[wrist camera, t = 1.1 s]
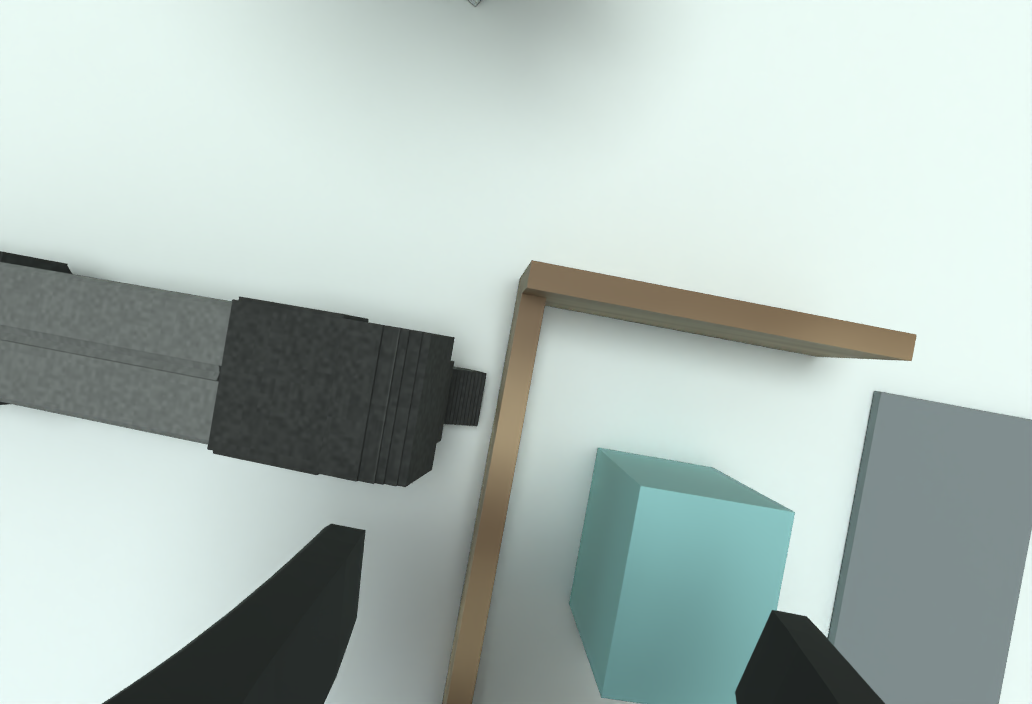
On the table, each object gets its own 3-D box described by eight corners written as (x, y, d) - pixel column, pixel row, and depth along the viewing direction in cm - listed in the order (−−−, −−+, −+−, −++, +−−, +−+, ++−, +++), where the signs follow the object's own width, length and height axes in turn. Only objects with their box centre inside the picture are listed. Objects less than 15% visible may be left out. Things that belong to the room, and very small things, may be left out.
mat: (976, 769, 24) (984, 777, 23) (808, 745, 23) (814, 752, 23) (1041, 422, 24) (1051, 423, 23) (874, 391, 23) (881, 391, 23)
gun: (488, 460, 22) (334, 525, 12) (85, 368, 27) (-239, 363, 18) (508, 340, 22) (371, 311, 12) (101, 272, 27) (-215, 215, 18)
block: (683, 620, 23) (755, 720, 17) (568, 602, 23) (601, 697, 17) (711, 467, 23) (794, 512, 17) (597, 447, 23) (641, 486, 17)
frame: (738, 779, 23) (810, 900, 18) (435, 737, 22) (423, 851, 17) (821, 336, 23) (916, 334, 18) (520, 278, 22) (531, 260, 17)
